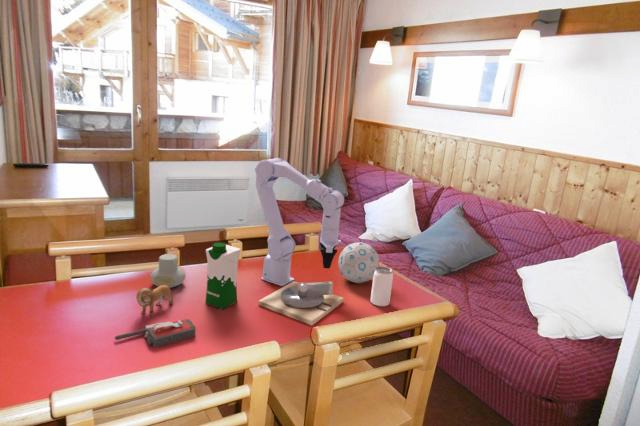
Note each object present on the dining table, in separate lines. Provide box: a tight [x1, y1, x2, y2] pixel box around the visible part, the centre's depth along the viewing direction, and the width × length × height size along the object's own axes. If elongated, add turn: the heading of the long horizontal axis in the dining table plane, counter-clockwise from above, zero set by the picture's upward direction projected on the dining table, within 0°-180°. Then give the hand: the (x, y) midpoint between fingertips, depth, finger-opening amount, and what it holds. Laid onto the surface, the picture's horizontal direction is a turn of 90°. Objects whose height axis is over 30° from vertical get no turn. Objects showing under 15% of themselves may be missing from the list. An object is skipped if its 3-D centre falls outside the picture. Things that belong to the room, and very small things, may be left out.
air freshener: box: [150, 253, 186, 289], centre depth 149 cm, size 11×8×10 cm
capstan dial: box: [281, 281, 334, 309], centre depth 145 cm, size 17×14×5 cm
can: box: [370, 266, 394, 308], centre depth 150 cm, size 6×6×12 cm
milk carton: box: [205, 241, 242, 310], centre depth 139 cm, size 9×9×20 cm
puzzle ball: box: [338, 241, 380, 284], centre depth 166 cm, size 15×15×15 cm
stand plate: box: [257, 280, 344, 326], centre depth 146 cm, size 20×20×2 cm
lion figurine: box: [135, 285, 174, 316], centre depth 132 cm, size 15×5×9 cm, turn 163°
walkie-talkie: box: [114, 318, 196, 348], centre depth 119 cm, size 9×4×20 cm
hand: (326, 265), depth 152 cm, fingers open, 4 cm apart
